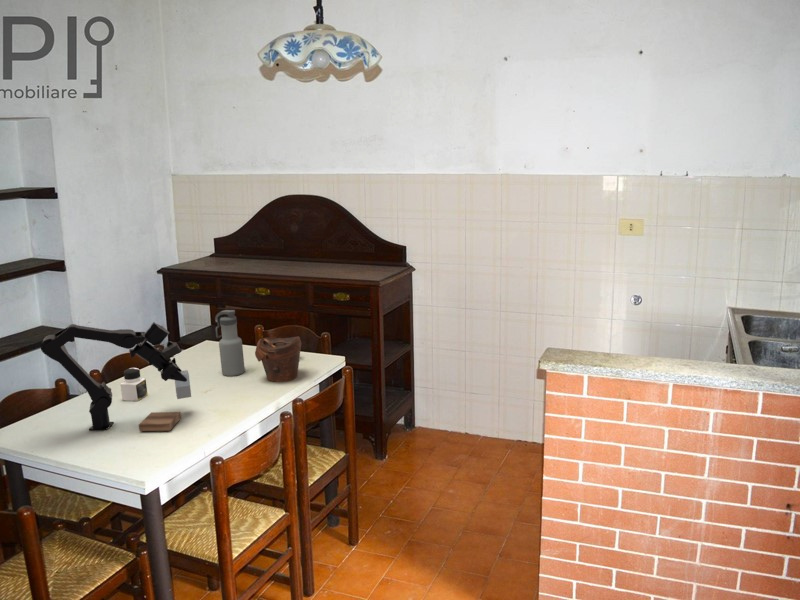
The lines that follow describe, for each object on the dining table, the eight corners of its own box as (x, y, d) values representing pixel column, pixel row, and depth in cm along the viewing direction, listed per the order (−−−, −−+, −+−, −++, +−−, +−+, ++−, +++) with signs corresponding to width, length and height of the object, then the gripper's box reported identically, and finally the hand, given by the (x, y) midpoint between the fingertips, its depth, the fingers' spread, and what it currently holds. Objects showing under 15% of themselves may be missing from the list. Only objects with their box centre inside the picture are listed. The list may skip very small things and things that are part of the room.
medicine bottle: (138, 401, 281) (134, 372, 278) (122, 400, 282) (118, 372, 280) (148, 394, 288) (144, 366, 285) (132, 394, 289) (128, 366, 286)
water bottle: (216, 375, 307) (210, 313, 301) (228, 368, 316) (222, 307, 310) (237, 377, 304) (231, 314, 298) (249, 370, 313) (243, 308, 307)
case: (252, 375, 305) (249, 335, 301) (296, 367, 314) (293, 328, 310) (264, 388, 290) (261, 346, 286) (310, 379, 299) (308, 338, 294)
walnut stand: (170, 431, 250) (169, 424, 249) (139, 432, 250) (138, 424, 250) (181, 419, 260) (180, 411, 260) (152, 420, 261) (151, 412, 260)
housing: (191, 396, 264) (188, 374, 262) (177, 399, 262) (174, 376, 260) (190, 392, 268) (187, 370, 266) (176, 394, 267) (173, 372, 264)
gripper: (167, 343, 250) (202, 368, 256) (163, 331, 267) (197, 354, 273) (146, 368, 249) (182, 393, 255) (144, 354, 266) (178, 377, 272)
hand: (185, 378), depth 264 cm, fingers closed on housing, 5 cm apart
